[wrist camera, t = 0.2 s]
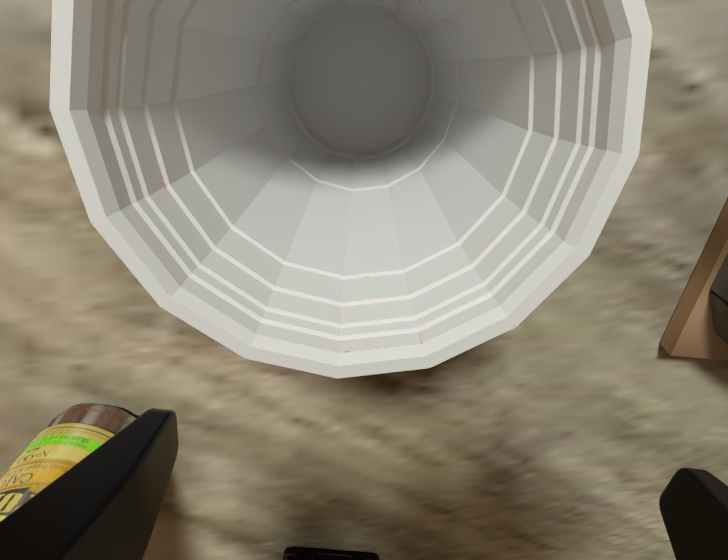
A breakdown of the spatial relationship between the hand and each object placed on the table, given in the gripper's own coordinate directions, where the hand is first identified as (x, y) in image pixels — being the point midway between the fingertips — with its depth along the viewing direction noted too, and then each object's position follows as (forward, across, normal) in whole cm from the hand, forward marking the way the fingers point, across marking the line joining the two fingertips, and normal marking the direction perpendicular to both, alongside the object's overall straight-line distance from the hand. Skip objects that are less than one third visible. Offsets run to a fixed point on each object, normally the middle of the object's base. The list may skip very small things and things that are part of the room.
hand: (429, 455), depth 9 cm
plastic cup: (+15, +2, -4) cm, 16 cm away
